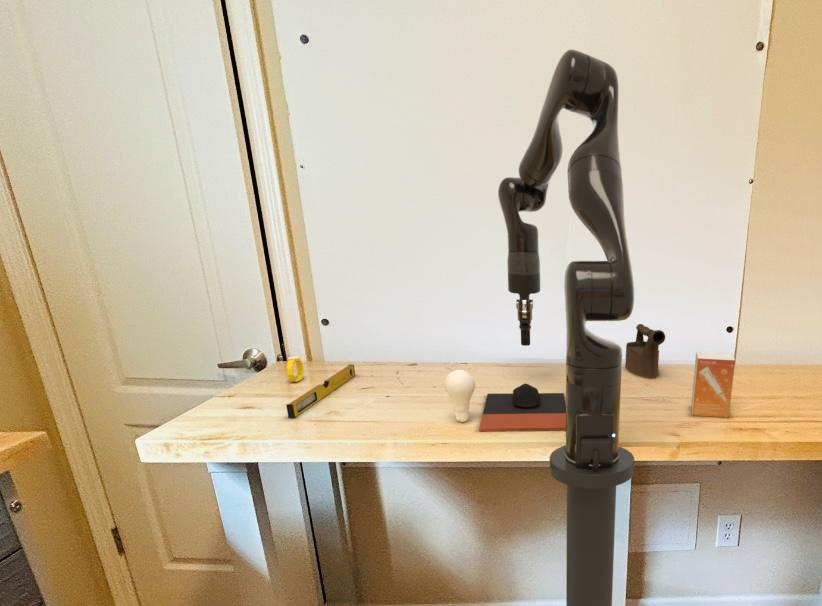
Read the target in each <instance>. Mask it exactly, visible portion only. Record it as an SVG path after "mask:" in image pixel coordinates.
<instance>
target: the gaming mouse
mask: <svg viewBox="0 0 822 606" xmlns="http://www.w3.org/2000/svg"><path fill="white" fill-rule="evenodd" d="M512 393H513V394H512V404H513V405H514V406H517V407H524V408H526V407H534V406H538V405H540V403H541V398H540V394H539V393H540V392H539V390H538V388H537V387H535V386H533V385H530V384H529V383H523V384H521V385H519V386H517V387H515V388H514V389H513V390H512Z"/></svg>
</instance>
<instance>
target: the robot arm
mask: <svg viewBox="0 0 822 606" xmlns="http://www.w3.org/2000/svg"><path fill="white" fill-rule="evenodd" d="M619 90H620V89H619V78H618V73H617V71H616V69H615V68H614V66H612V65H611V64H609V63H608V62H606V61H603V60H601V59H599V58H596V57H594V56H592V55H589V54H587V53H584V52H582V51H579V50H575V49H568V50H566V51H565V52H564V53H563V54H562V55H561V57H560V59H559V61H558V63H557V64H556V66H555V68H554V71H553V74H552V77H551V79H550V82H549V86H548V89H547V92H546V95H545V98H544V101H543V104H542V107H541V110H540V113H539V117H538V120H537V123H536V127H535V130H534V133H533V135H532V137H531V139H530V142H529V144H528V146H527V147H526V150H525V151H524V154H523V156H522V158H521V160H520V161H519V165H518V176H519V177H516V176H515V177H514V176H507V177H505V178H503V179H502V180H501V181H500V183H499V185H498V189H497V197H498V203H499V205H500V209H501V212H502V217H503V219H504V224H505V229H506V232H507V259H506V261H507V262H506V263H507V289H508V292H509V293H511V294H518V296H519V299H516V300H515V308H516V309H517V321H519V325H518V327H519V330H520V345H521V346H522V347H523V346H530V345H531V329H532V321H533V309H534V299H530V295H531V294H533V295H534V294H539V293H540V292H541V259H540V251H539V250H540V245H539V243H540V241H539V239H540V238H539V228H538V226H537V225H535V224H533V223H530V222H526V221H524V220H523V219H522V218H521V215H520V213H537V212H538V211H540V210H542V208H543V207H545V204H546V203H547V202H546V201H547V196H548V190H549V186H550V181H551V179H552V177H553V176H554V174H555V173H556V171H557V169H558V168H559V166H560V164H561V161H562V158H563V153H564V151H563V150H564V147H563V139H562V134H561V129H560V128H561V127H560V114H561V112H562V110H566V111H568V112H571V113H574V114H576V115H578V116H582V117H583V118H584V117H585V118H587V119H588V120H589V121H590V122H591V125H592V130H591V132H589V134H588V135H587V136H586V137H585V138H584V139H583V140H582V141H581V143H580V144H579V145H578V146H577V147H576V148H575V149H574V151H573V153H572V154H571V156H570V158H569V161H568V163H567V189H568V190H567V191H568V192H567V193H568V200H569V204H570V207H571V209H572V211H573V213H574V214H575V215H576V217H577V218H578V219H579V222H581V224H583V226H584V227H585V228H586V230H587V231H588V232H589V233H590V234H591V235H592V236H593V237H594V238H595V240H596V241H597V243H598V244H599V246H600V248H601V250H602V252H603V254H604V256H605V259H606V260H572V261H570V262H569V263H568V264H567V266H566V268H565V273H564V284H563V285H564V306H565V307H564V309H565V326H566V327H565V333H566V334H565V335H566V336H565V337H566V341H565V343H566V344H565V404H566V430H565V445H566V452H565V459H566V460H567V461H568V462H569V463H570V464H572V465H575V466H576V468H577V469H581V468H593V471H598V468H612V467H613V464H615V463H616V462H617V461H618V460H619V453H618V452H619V447H620V421H621V420H620V419H621V396H622V395H621V392H622V391H621V390H622V370H623V367H622V366H623V348H622V347H621V345H620V344H619V343H616V342H614V341H613V340H610V339H607V338H604V337H601V336H599V335H598V334H595V333H594V332H592V331H591V330H590V329H588V327H587V326H586V323H587V322H619V321H620V322H621V321H625V320H627V319H629V318H630V317H631V315H632V314H633V310H634V307H635V281H634V276H633V268H632V267H633V266H632V262H631V255H630V249H629V244H628V237H627V229H626V217H625V200H624V196H625V195H624V181H623V171H622V170H623V169H622V162H621V154H620V141H619V140H620V139H619V98H620V97H619V96H620V95H619V92H620V91H619Z"/></svg>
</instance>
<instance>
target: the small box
mask: <svg viewBox="0 0 822 606" xmlns="http://www.w3.org/2000/svg"><path fill="white" fill-rule="evenodd" d="M735 366H736V358H735V357H734V354H733V353H726V352H725V353H724V352H723V353H722V352H703V351H700V352H699V351H696V352H695V359H694V369H693V370H694V371H693V380H692V381H693V383H692V393H691V404H690V405H691V406H690V408H691V415H692V416H702V417H715V418H725V419H727V418H729V417H730V408H731V400H732V393H733V392H732V391H733V383H734V375H735Z"/></svg>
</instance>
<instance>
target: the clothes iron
mask: <svg viewBox="0 0 822 606" xmlns="http://www.w3.org/2000/svg"><path fill="white" fill-rule="evenodd" d="M635 329H636V331H637V332H636V337H635V341H629V342H626V346H625V363H624V368H625V370H627V371H628V372H629V373H632V374H633V375H635V376H637V377H642V378H645V379H655V378H657V377H658V376H659V362H660V361H659V359H660V350H659V347H660V345H662V344H664V343H665V340H666V334H665V331H663V330H661V329H655V330H654V329H651V328H650V327H649V326H645V325H644V324H642V323H638V324H637V325H636V326H635ZM644 336H646V337H647V339H646V340H645V339H644Z"/></svg>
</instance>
